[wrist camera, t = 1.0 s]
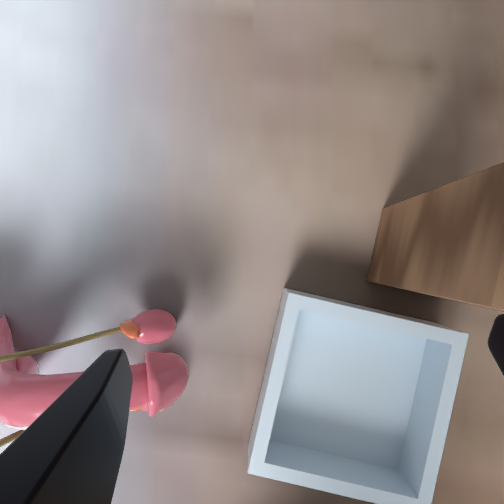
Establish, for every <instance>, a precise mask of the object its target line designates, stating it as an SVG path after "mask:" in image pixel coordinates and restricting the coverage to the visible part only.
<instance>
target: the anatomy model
mask: <svg viewBox="0 0 504 504" xmlns="http://www.w3.org/2000/svg"><path fill="white" fill-rule="evenodd" d="M175 330H176V320H175V318H174V317H173V316H172V315H171V314H170V313H169V312H166V311H164V310H160V309H153V310H148V311H144V312H141V313H139V314H138V315H136V316H135V317H134V318H133V319H132V320H126V321H124V322H122V323H121V324H120V327H118V328H114V329H110V330H106V331H102V332H98V333H94V334H91V335H87V336H84V337H80V338H76V339H73V340H69V341H65V342H61V343H57V344H53V345H48V346H44V347H40V348H35V349H31V350H26V351H21V352H19V351H14V346H13V341H12V334H11V330H10V327H9V324H8V321H7V319H6V316H5V314H4V316H3V317H0V423H1V424H2V425H3V424H4V425H5V426H9V427H12V428H16V429H20V431H18V432H15V433H13V434H11V435H9V436H7V437H5V438H3V439H1V440H0V447H1V446H3V445H5V444H7V443H9V442H11V441H13V440H15V439H16V438H17V437H18V436H19V435H20V434H21V433H22V432H23V431H25V430H26V429H27V428H28V427H29V426H30V425H31V424H32V423H33V422H34V421H35V420H36V419H37V418H38V417H39V416H40V415H41V414H42V413H43V412H44V411H45V410H46V409H47V408H48V407H49V406H50V405H51V404H52V403H53V402H54V401H55V400H56V399H57V398H58V397H59V396H60V395H61V394H62V393H63V392H64V391H65V390H66V389H67V388H68V387H69V386H70V385H71V384H72V383H73V382H74V381H75V380H76V379H77V378H78V377H79V376H80V375H81V374H82V373H83V372H75V373H65V374H54V375H39V374H38V372H39V368H38V364H37V362H36V360H35V359H34V358H32V357H31V356H30V355H35V354H39V353H43V352H47V351H52V350H56V349H60V348H63V347H67V346H71V345H74V344H78V343H81V342H85V341H88V340H92V339H95V338H99V337H102V336H106V335H110V334H114V333H118V332H123V333H124V334H125V335H126V336H127V337H129V338H130V339H136V340H137V341H138V342H140V343H144V344H153V343H160V342H163V341H165V340H166V339H168V338H169V337H171V336H172V335H173V334H174V332H175ZM130 368H131V371H132V376H133V384H132V392H131V400H130V407H129V411H139V410H143V411H145V412H149V416H151V417H152V416H154V415H156V414H157V413H158V412H159V411H162V410H163V409H164V408H166V407H168V406H170V405H171V404H172V403H173V402H174V401H175V400H176V399H177V398H178V397H179V396H180V395H181V394H182V392H183V391H184V389H185V387H186V385H187V382H188V377H189V371H188V367H187V365H186V362H185V361H184V360H183V358H182V357H180V356H179V355H177V354H175V353H159V352H146V353H145V354H144V362H143V363H138V364H134V365H130Z"/></svg>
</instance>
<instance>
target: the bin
mask: <svg viewBox="0 0 504 504" xmlns="http://www.w3.org/2000/svg"><path fill="white" fill-rule="evenodd" d="M468 336H469V334H467V333H464V332H461V331H458V330H455V329H453V328H450V327H447V326H444V325H441V324H439V323H434V322H430V321H426V320H421V319H417V318H413V317H408V316H404V315H400V314H395V313H391V312H387V311H382V310H378V309H374V308H369V307H365V306H361V305H356V304H352V303H348V302H343V301H339V300H335V299H330V298H326V297H322V296H318V295H313V294H309V293H305V292H300V291H296V290H292V289H287V288H284V289H283V294H282V298H281V303H280V307H279V311H278V316H277V320H276V324H275V329H274V333H273V337H272V342H271V346H270V351H269V355H268V359H267V364H266V368H265V372H264V377H263V381H262V386H261V390H260V394H259V399H258V403H257V407H256V412H255V416H254V420H253V425H252V429H251V434H250V438H249V442H248V473H249V474H253V475H257V476H261V477H266V478H270V479H274V480H278V481H282V482H287V483H291V484H295V485H299V486H304V487H308V488H312V489H316V490H321V491H325V492H329V493H333V494H338V495H342V496H346V497H350V498H355V499H359V500H363V501H367V502H372V503H376V504H431V503H432V498H433V494H434V489H435V485H436V480H437V476H438V471H439V467H440V462H441V458H442V453H443V449H444V444H445V440H446V435H447V431H448V426H449V422H450V417H451V413H452V408H453V403H454V399H455V394H456V390H457V385H458V381H459V376H460V372H461V367H462V363H463V358H464V354H465V349H466V345H467V340H468Z"/></svg>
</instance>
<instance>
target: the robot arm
mask: <svg viewBox="0 0 504 504" xmlns="http://www.w3.org/2000/svg"><path fill="white" fill-rule="evenodd" d="M488 346H489V349H490V351H491V353H492V355H493V357H494V359H495V361H496V362H497V364H498V366H499V368H500V370H501V372H502V373H503V375H504V314H501V315H498V316H497V317H496V319H495V321H494V324H493V327H492V329H491V332H490V335H489V338H488ZM132 384H133V376H132V371H131V368H130V365H129V361H128V358H127V355H126V352H125V351H124V350H123V349H114V350H107V351H105V352H104V353H102V354H101V355H100V356H99V357H98V358H97V359H96V360H95V361H94V362H93V363H92V364H91V365H90V366H89V367H88V368H87V369H86V370H85V371H84V372H83V373H82V374H81V375H80V376H79V377H78V378H77V379H76V380H75V381H74V382H73V383H72V384H71V385H70V386H69V387H68V388H67V389H66V390H65V391H64V392H63V393H62V394H61V395H60V396H59V397H58V398H57V399H56V400H55V401H54V402H53V403H52V404H51V405H50V406H49V407H48V408H47V409H46V410H45V411H44V412H43V413H42V414H41V415H40V416H39V417H38V418H37V419H36V420H35V421H34V422H33V423H32V424H31V425H30V426H29V427H28V428H27V429H26V430H25V431H23V432H22V433H21V434H20V435H19V436H18V437H17V438H16V439H15V440H14V441H13V442H12V443H11V444H10V445H9V446H8V447H7V448H6V449H5V450H4V451H3V452H2V453H1V454H0V504H111V501H112V497H113V493H114V488H115V484H116V480H117V476H118V472H119V468H120V464H121V459H122V455H123V450H124V445H125V438H126V431H127V423H128V415H129V407H130V400H131V392H132Z"/></svg>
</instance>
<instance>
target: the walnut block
mask: <svg viewBox="0 0 504 504" xmlns="http://www.w3.org/2000/svg"><path fill="white" fill-rule="evenodd" d="M366 281H369V282H374V283H378V284H382V285H387V286H391V287H395V288H400V289H404V290H409V291H413V292H417V293H422V294H426V295H430V296H435V297H439V298H443V299H448V300H453V301H457V302H462V303H467V304H471V305H476V306H480V307H485V308H490V309H494V310H499V311H504V162H503V163H501V164H498V165H496V166H493V167H490V168H488V169H485V170H482V171H480V172H477V173H475V174H472V175H469V176H467V177H464V178H461V179H459V180H456V181H454V182H451V183H448V184H446V185H443V186H440V187H438V188H435V189H433V190H430V191H427V192H425V193H422V194H419V195H417V196H414V197H412V198H409V199H406V200H404V201H401V202H398V203H396V204H393V205H390V206H388V207H385V208H383V210H382V214H381V218H380V223H379V227H378V232H377V236H376V241H375V245H374V249H373V254H372V258H371V263H370V267H369V271H368V276H367V280H366Z"/></svg>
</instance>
